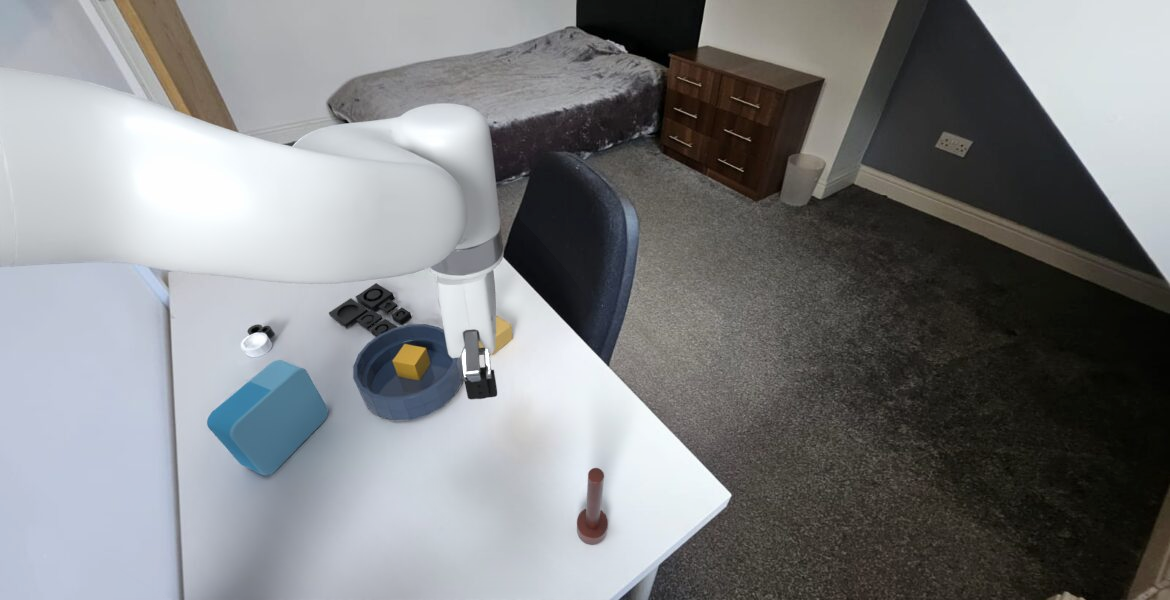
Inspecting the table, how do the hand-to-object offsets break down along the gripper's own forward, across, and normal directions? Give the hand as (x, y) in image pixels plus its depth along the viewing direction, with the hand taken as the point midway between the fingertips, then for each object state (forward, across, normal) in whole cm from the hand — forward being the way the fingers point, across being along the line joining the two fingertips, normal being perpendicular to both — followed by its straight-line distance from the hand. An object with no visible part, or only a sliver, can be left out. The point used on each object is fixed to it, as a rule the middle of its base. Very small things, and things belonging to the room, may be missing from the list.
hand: (483, 363), depth 56 cm
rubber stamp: (+21, -26, -2) cm, 33 cm away
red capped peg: (+21, +12, +12) cm, 27 cm away
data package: (+21, -7, -31) cm, 38 cm away
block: (+20, -18, -14) cm, 30 cm away
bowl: (+21, -16, -14) cm, 30 cm away
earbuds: (+21, -30, -30) cm, 48 cm away
